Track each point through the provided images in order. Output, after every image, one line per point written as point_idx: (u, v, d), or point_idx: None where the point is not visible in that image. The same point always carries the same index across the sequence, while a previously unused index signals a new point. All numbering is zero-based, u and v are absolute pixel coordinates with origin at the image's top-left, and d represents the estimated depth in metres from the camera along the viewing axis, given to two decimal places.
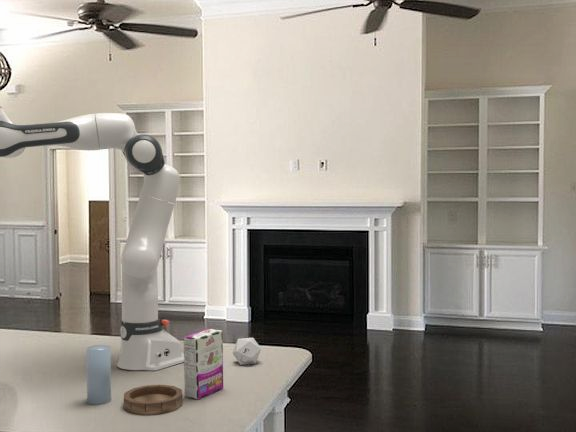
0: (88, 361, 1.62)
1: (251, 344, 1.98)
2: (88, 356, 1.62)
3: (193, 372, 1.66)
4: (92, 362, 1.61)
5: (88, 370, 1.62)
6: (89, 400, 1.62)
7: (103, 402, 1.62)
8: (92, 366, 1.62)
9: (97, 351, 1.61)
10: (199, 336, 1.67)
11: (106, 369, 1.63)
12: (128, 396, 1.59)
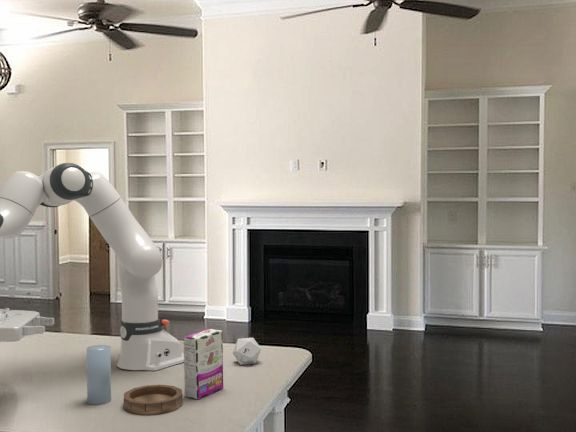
0: (88, 361, 1.62)
1: (251, 344, 1.98)
2: (88, 356, 1.62)
3: (193, 372, 1.66)
4: (92, 362, 1.61)
5: (88, 370, 1.62)
6: (89, 400, 1.62)
7: (103, 402, 1.62)
8: (92, 366, 1.62)
9: (97, 351, 1.61)
10: (199, 336, 1.67)
11: (106, 369, 1.63)
12: (128, 396, 1.59)
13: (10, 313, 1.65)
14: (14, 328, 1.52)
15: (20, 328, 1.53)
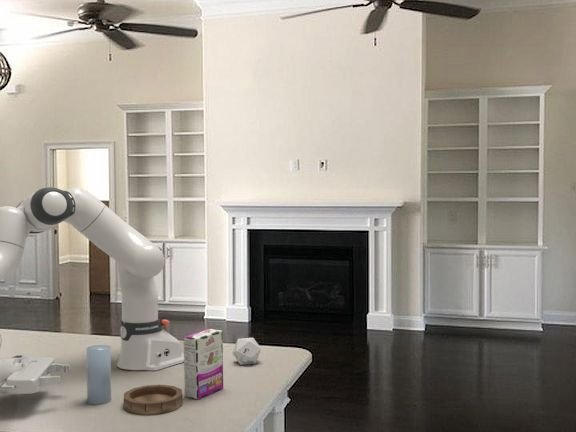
0: (88, 361, 1.62)
1: (251, 344, 1.98)
2: (88, 356, 1.62)
3: (193, 372, 1.66)
4: (92, 362, 1.61)
5: (88, 370, 1.62)
6: (89, 400, 1.62)
7: (103, 402, 1.62)
8: (92, 366, 1.62)
9: (97, 351, 1.61)
10: (199, 336, 1.67)
11: (106, 369, 1.63)
12: (128, 396, 1.59)
13: (25, 361, 1.66)
14: (31, 380, 1.53)
15: (37, 379, 1.54)
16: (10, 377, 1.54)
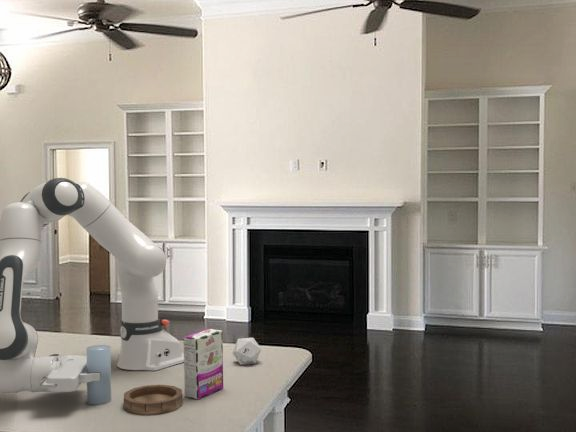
0: (88, 361, 1.62)
1: (251, 344, 1.98)
2: (88, 356, 1.62)
3: (193, 372, 1.66)
4: (92, 362, 1.61)
5: (88, 370, 1.62)
6: (89, 400, 1.62)
7: (103, 402, 1.62)
8: (92, 366, 1.62)
9: (97, 351, 1.61)
10: (199, 336, 1.67)
11: (106, 369, 1.63)
12: (128, 396, 1.59)
13: (62, 359, 1.67)
14: (71, 378, 1.54)
15: (77, 378, 1.55)
16: (50, 375, 1.56)
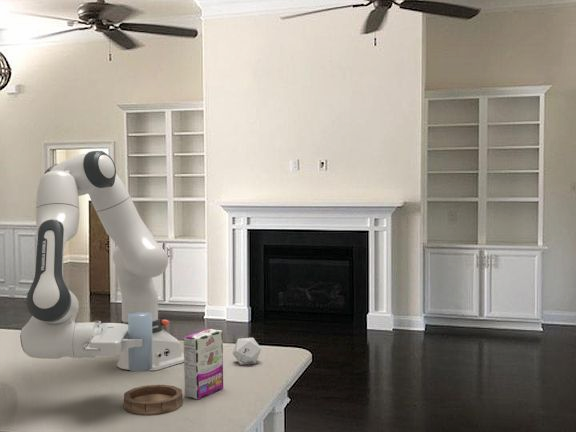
0: (130, 327, 1.59)
1: (251, 344, 1.98)
2: (130, 322, 1.59)
3: (193, 372, 1.66)
4: (134, 328, 1.59)
5: (130, 336, 1.60)
6: (130, 367, 1.60)
7: (145, 369, 1.60)
8: (134, 332, 1.59)
9: (139, 317, 1.59)
10: (199, 336, 1.67)
11: (148, 335, 1.60)
12: (128, 396, 1.59)
13: (103, 326, 1.65)
14: (115, 342, 1.51)
15: (120, 342, 1.53)
16: (93, 340, 1.53)
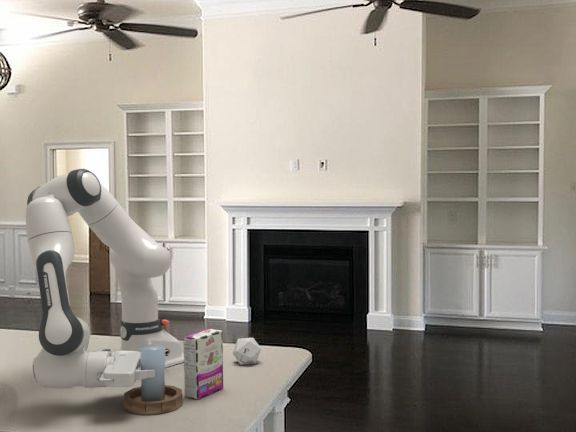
0: (143, 361, 1.59)
1: (251, 344, 1.98)
2: (143, 356, 1.59)
3: (193, 372, 1.66)
4: (147, 362, 1.59)
5: None
6: None
7: None
8: (147, 366, 1.59)
9: (152, 351, 1.59)
10: (199, 336, 1.67)
11: (161, 369, 1.60)
12: (128, 396, 1.59)
13: (115, 354, 1.65)
14: (128, 373, 1.51)
15: (134, 373, 1.53)
16: (106, 370, 1.53)
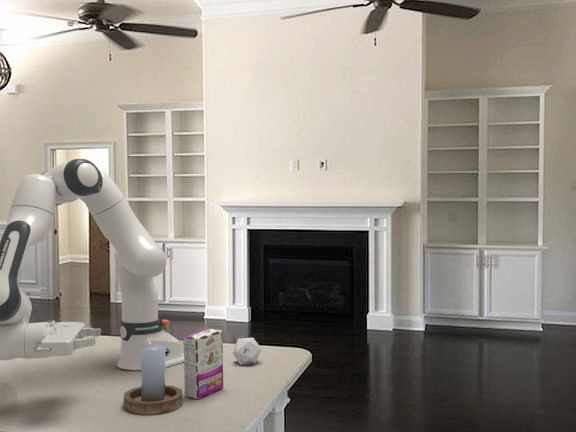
0: (143, 361, 1.59)
1: (251, 344, 1.98)
2: (143, 356, 1.59)
3: (193, 372, 1.66)
4: (148, 362, 1.59)
5: (143, 370, 1.60)
6: None
7: None
8: (147, 366, 1.59)
9: (152, 351, 1.59)
10: (199, 336, 1.67)
11: (161, 369, 1.60)
12: (128, 396, 1.59)
13: (56, 325, 1.63)
14: (66, 342, 1.50)
15: (72, 342, 1.52)
16: (44, 340, 1.52)
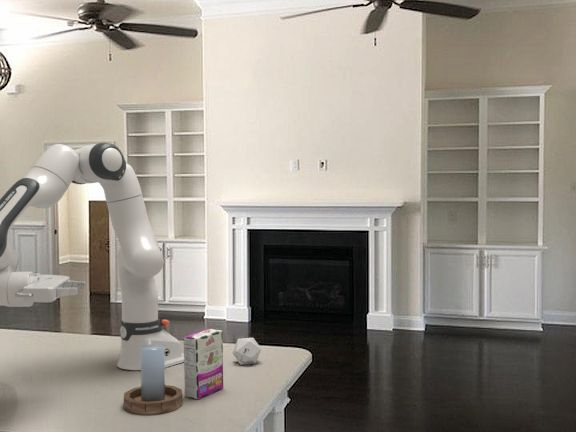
0: (143, 361, 1.59)
1: (251, 344, 1.98)
2: (143, 356, 1.59)
3: (193, 372, 1.66)
4: (147, 362, 1.59)
5: (143, 370, 1.59)
6: None
7: None
8: (146, 366, 1.59)
9: (152, 351, 1.59)
10: (199, 336, 1.67)
11: (161, 369, 1.60)
12: (128, 396, 1.59)
13: (41, 276, 1.64)
14: (48, 288, 1.50)
15: (54, 289, 1.52)
16: (27, 286, 1.52)
